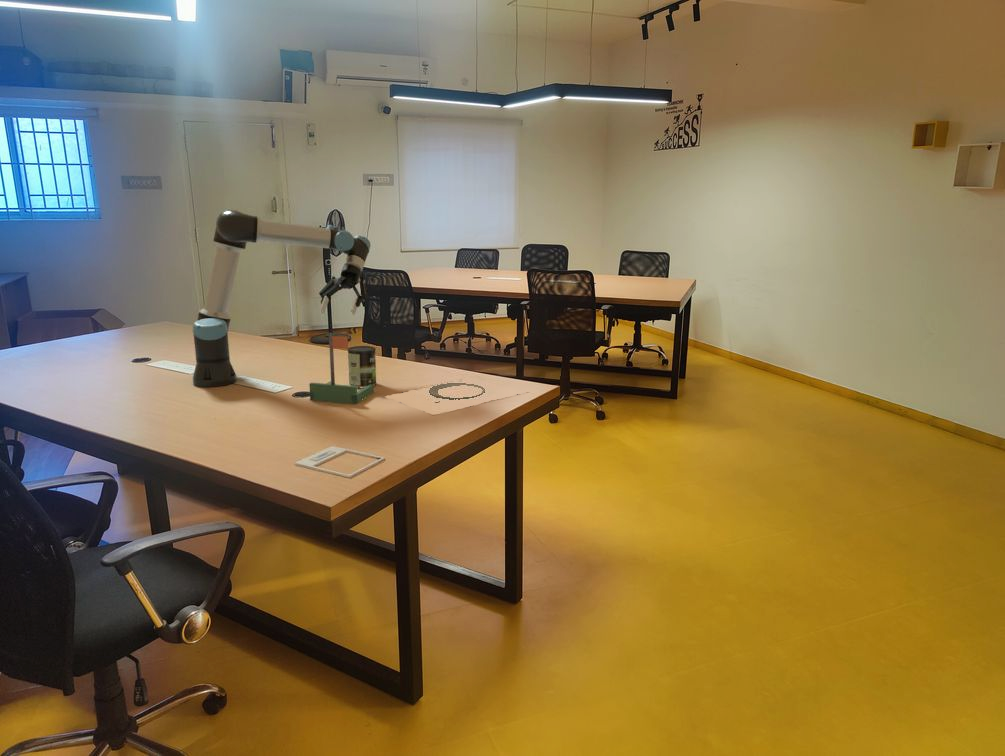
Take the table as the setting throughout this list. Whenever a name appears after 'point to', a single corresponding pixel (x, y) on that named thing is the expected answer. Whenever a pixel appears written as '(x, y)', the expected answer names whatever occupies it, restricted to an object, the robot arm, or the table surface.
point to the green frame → (330, 389)
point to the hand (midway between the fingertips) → (337, 311)
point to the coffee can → (362, 366)
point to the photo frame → (329, 454)
